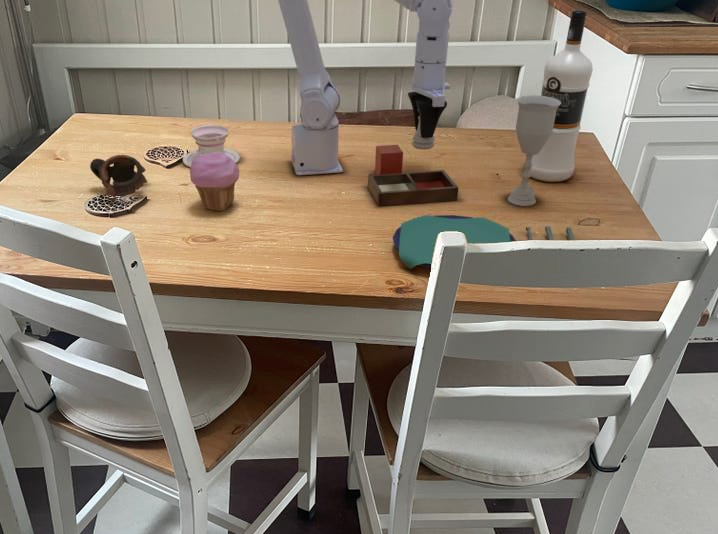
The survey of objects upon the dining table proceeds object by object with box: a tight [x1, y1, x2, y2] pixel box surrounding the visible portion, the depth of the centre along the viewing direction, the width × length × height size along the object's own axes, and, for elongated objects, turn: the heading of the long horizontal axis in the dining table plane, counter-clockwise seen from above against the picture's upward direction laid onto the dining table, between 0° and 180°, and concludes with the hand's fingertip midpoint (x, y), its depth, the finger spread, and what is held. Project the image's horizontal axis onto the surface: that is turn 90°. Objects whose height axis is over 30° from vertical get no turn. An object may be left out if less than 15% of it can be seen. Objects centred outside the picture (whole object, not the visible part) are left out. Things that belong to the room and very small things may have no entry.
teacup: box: [182, 124, 241, 168], centre depth 151 cm, size 12×12×6 cm
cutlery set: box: [392, 214, 575, 270], centre depth 117 cm, size 20×30×2 cm, turn 82°
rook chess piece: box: [411, 116, 436, 150], centre depth 140 cm, size 4×4×8 cm
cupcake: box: [189, 152, 240, 212], centre depth 131 cm, size 9×9×10 cm
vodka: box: [530, 9, 594, 183], centre depth 136 cm, size 9×9×30 cm
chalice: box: [507, 94, 561, 207], centre depth 129 cm, size 7×7×18 cm
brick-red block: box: [374, 144, 404, 175], centre depth 143 cm, size 4×4×6 cm
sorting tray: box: [367, 169, 459, 207], centre depth 137 cm, size 15×9×2 cm, turn 98°
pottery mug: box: [89, 154, 148, 203], centre depth 138 cm, size 12×10×8 cm
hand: (424, 134), depth 141 cm, fingers closed on rook chess piece, 3 cm apart
